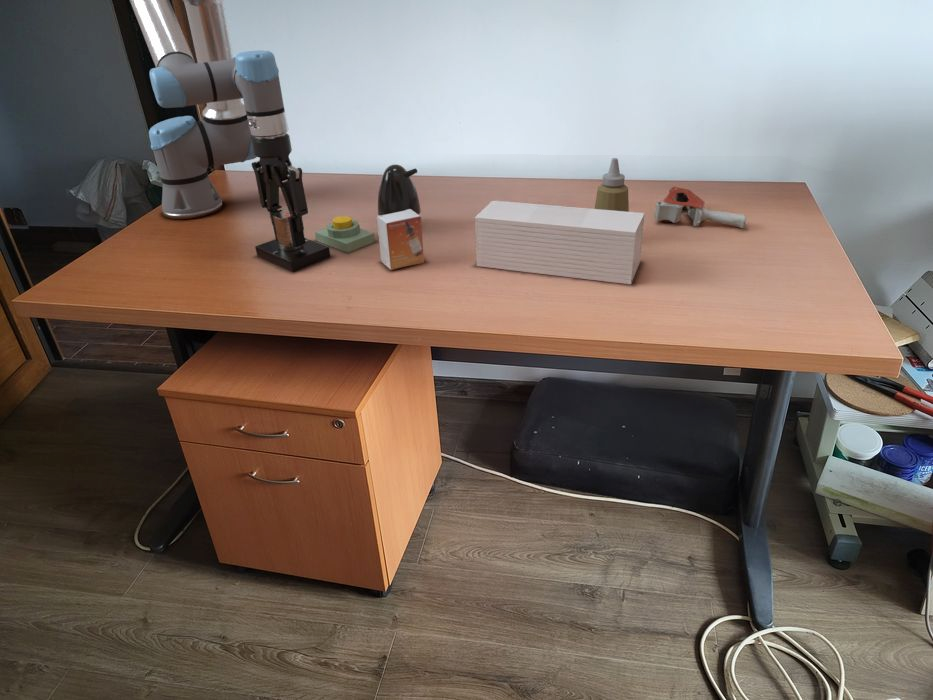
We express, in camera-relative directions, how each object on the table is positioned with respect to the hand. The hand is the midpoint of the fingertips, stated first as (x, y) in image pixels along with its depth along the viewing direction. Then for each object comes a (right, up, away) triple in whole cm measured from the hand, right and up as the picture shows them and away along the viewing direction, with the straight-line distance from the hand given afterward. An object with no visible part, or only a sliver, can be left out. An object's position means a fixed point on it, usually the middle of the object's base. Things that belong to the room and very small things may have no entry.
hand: (290, 242), depth 148 cm
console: (0, -3, +2) cm, 4 cm away
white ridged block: (+58, -6, -8) cm, 59 cm away
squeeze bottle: (+71, +1, +2) cm, 71 cm away
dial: (0, -1, 0) cm, 1 cm away
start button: (+10, +5, +7) cm, 13 cm away
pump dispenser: (+23, +6, +15) cm, 28 cm away
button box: (+10, +2, +9) cm, 14 cm away
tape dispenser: (+92, +6, +10) cm, 92 cm away
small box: (+25, -5, -3) cm, 26 cm away
